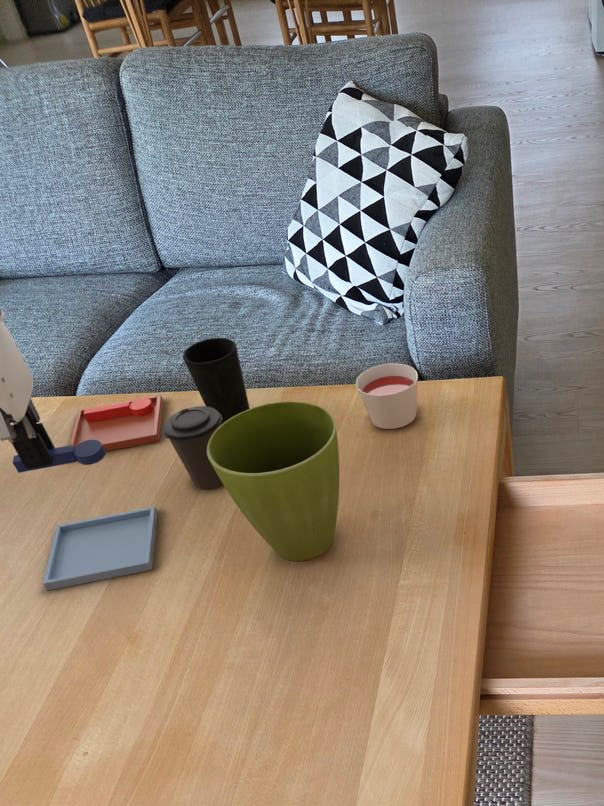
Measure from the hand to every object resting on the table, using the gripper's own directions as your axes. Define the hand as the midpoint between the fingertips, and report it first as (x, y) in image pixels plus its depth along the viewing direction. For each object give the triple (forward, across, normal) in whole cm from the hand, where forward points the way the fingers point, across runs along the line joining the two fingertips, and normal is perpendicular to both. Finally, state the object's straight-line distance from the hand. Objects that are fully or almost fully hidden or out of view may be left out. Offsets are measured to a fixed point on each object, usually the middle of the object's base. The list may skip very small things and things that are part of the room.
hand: (41, 459), depth 104 cm
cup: (+14, -25, +19) cm, 35 cm away
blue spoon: (+1, 0, +2) cm, 2 cm away
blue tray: (+14, 0, +2) cm, 14 cm away
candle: (+15, -18, +43) cm, 49 cm away
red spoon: (+14, -34, +1) cm, 37 cm away
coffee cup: (+14, -11, +16) cm, 24 cm away
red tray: (+14, -30, +1) cm, 34 cm away
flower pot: (+15, +8, +28) cm, 32 cm away
